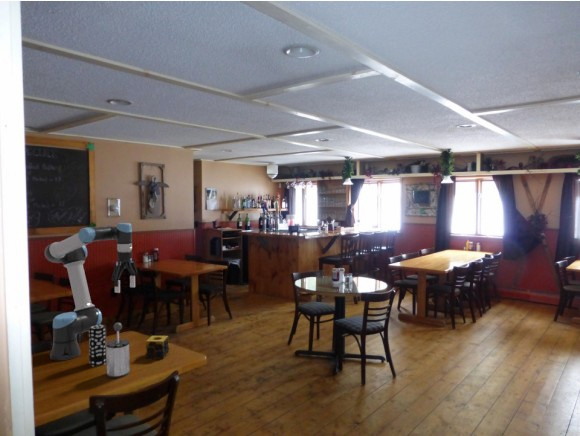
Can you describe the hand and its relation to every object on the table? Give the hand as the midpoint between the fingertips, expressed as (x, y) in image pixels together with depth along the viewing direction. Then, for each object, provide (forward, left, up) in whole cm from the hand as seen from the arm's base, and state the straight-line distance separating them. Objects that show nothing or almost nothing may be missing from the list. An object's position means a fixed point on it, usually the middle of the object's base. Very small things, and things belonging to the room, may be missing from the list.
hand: (125, 289), depth 231 cm
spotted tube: (-11, -9, -39) cm, 41 cm away
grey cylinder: (+8, -17, -39) cm, 43 cm away
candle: (+14, +9, -39) cm, 42 cm away
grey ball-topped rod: (+8, -18, -37) cm, 42 cm away
